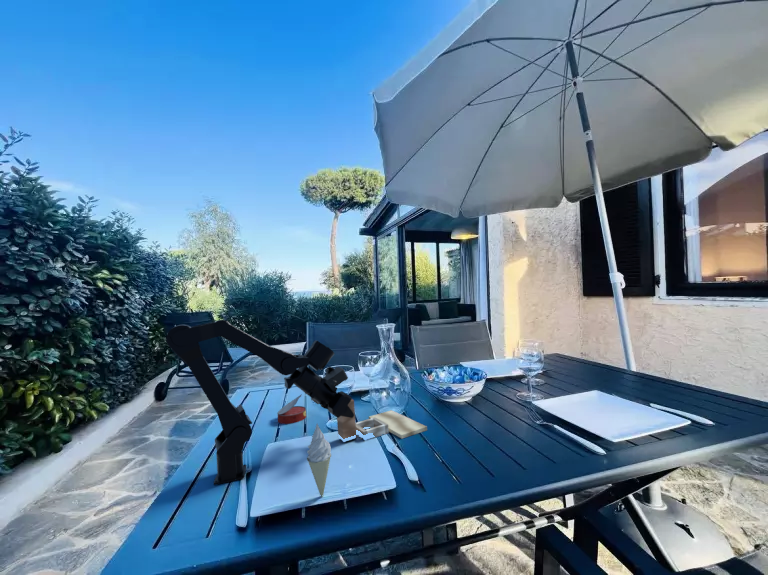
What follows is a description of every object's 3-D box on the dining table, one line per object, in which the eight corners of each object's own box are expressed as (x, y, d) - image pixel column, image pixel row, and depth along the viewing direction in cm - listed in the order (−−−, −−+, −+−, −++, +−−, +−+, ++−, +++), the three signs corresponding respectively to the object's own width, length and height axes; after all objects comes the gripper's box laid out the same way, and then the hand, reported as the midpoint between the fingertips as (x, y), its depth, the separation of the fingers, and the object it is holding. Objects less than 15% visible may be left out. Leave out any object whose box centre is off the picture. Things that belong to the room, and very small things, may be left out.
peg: (343, 442, 93) (341, 403, 93) (338, 438, 96) (335, 400, 97) (356, 438, 95) (353, 400, 95) (350, 434, 98) (348, 397, 99)
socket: (374, 448, 89) (373, 438, 89) (344, 426, 106) (343, 418, 106) (427, 430, 98) (426, 421, 98) (391, 413, 115) (391, 405, 115)
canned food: (296, 436, 113) (287, 415, 109) (275, 429, 118) (265, 409, 114) (316, 411, 121) (308, 391, 117) (296, 406, 126) (287, 386, 122)
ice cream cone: (335, 488, 71) (330, 417, 71) (332, 502, 66) (327, 426, 66) (312, 490, 71) (307, 419, 71) (307, 504, 66) (302, 428, 66)
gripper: (342, 364, 86) (381, 397, 92) (318, 356, 103) (352, 385, 108) (315, 400, 82) (358, 433, 87) (294, 386, 98) (331, 415, 103)
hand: (350, 414), depth 97 cm, fingers closed on peg, 4 cm apart
